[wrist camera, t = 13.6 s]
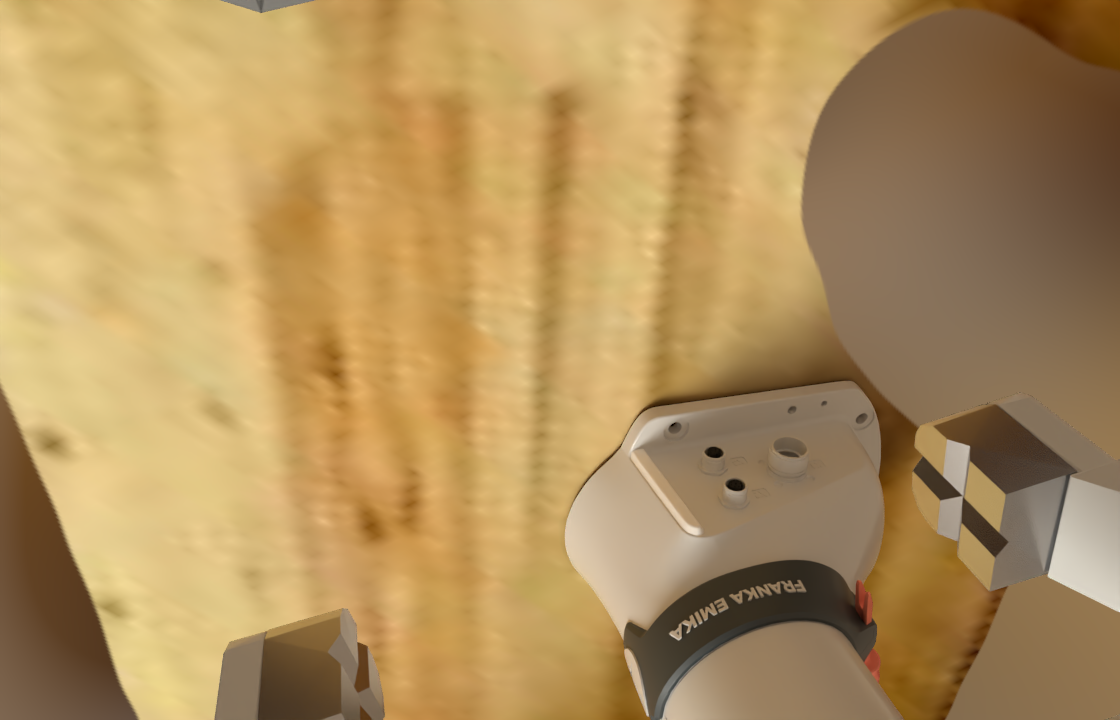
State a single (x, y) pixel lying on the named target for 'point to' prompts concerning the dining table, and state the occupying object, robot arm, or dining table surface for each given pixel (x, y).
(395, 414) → the dining table surface
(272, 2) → the ring tray
